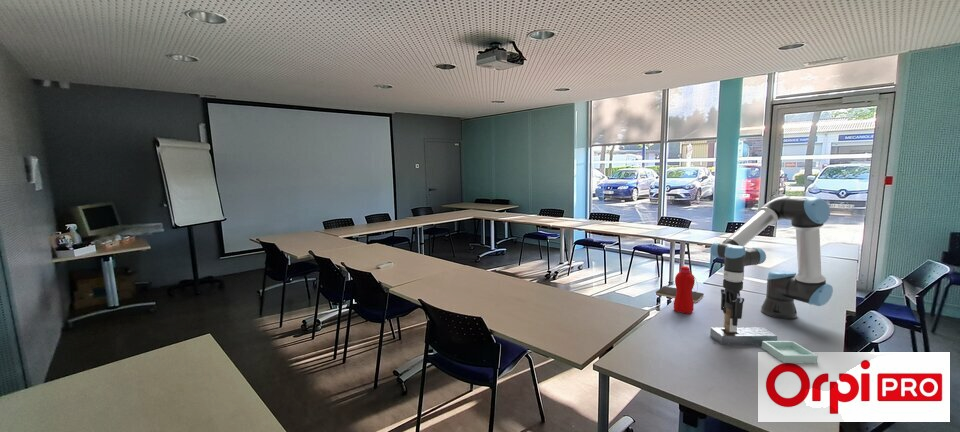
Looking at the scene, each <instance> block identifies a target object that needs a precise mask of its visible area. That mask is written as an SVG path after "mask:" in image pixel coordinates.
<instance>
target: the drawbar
mask: <svg viewBox="0 0 960 432" xmlns="http://www.w3.org/2000/svg"><path fill="white" fill-rule="evenodd" d="M724 331H725V328H724V327H710V332H709V333H710V335H709V336H710V337H711V338H712V339H714V340H715V341H716V342H717V343H719V344H720V345H721V346H722V345H723V346H725V345H740V346H741V345H755V346H756V345H757V346H758V345H761V346H762V341H778V335H776V334H775V333H773V332H772V331H770V330H768V329H766V328H765V327H763V326H762V327H758V326H757V327H754V326H753V327H752V326H751V327H737V332H735V334H726V333H725V332H724Z"/></svg>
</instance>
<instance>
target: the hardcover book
mask: <svg viewBox="0 0 960 432" xmlns="http://www.w3.org/2000/svg"><path fill="white" fill-rule="evenodd" d="M676 294H677V289H676V287H672V286H666V285H663V286H662V287H661V288H659V289H657V290H656V291H655V295H657V296H660V297H661V296H662V297H666V298H671V299H675V297H676ZM704 294H705V293H703V292H698V291H697V292H696V291H694V290H692V298H693V303H695V304H697V303H698V302H699V301H700V299H702V298H703V297H704Z"/></svg>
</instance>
